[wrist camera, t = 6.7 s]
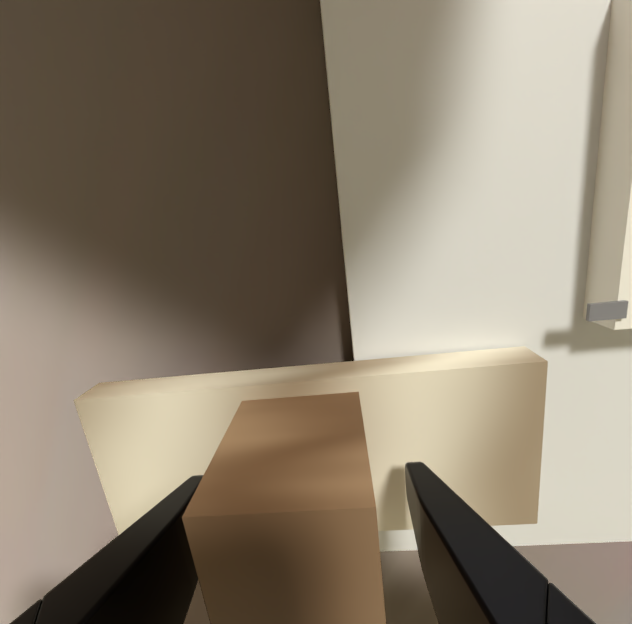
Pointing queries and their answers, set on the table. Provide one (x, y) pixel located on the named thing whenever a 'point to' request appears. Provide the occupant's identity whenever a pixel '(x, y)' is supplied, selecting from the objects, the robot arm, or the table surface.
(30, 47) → the table surface
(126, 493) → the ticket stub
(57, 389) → the table surface
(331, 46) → the ticket board
